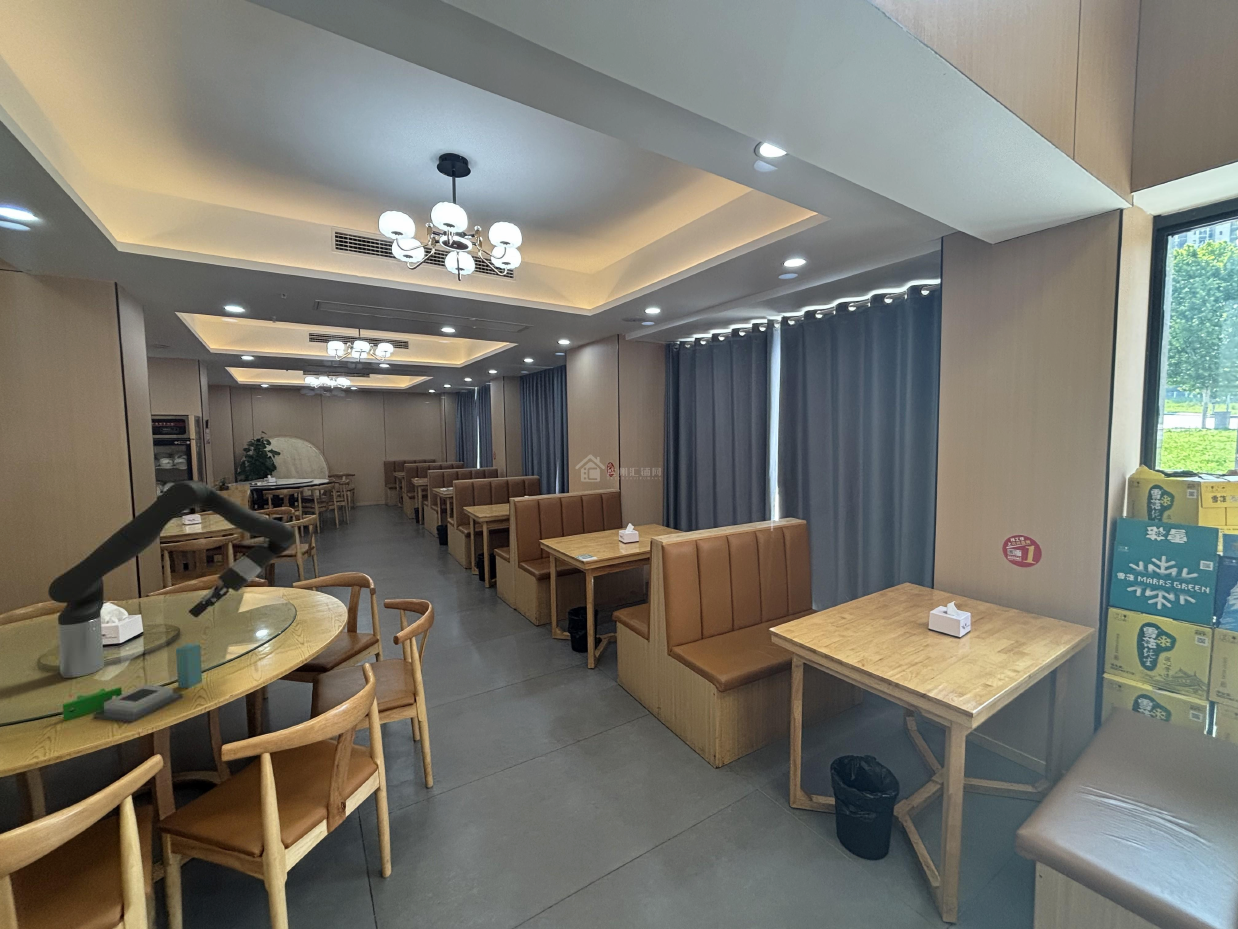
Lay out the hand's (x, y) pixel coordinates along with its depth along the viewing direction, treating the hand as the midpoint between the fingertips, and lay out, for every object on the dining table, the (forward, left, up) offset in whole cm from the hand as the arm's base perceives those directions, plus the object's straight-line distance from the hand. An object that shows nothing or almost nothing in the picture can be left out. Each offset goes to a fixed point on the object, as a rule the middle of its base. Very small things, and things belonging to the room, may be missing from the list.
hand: (191, 614), depth 151 cm
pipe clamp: (-12, -18, -22) cm, 31 cm away
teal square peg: (0, -2, -22) cm, 22 cm away
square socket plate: (-1, -15, -21) cm, 26 cm away
